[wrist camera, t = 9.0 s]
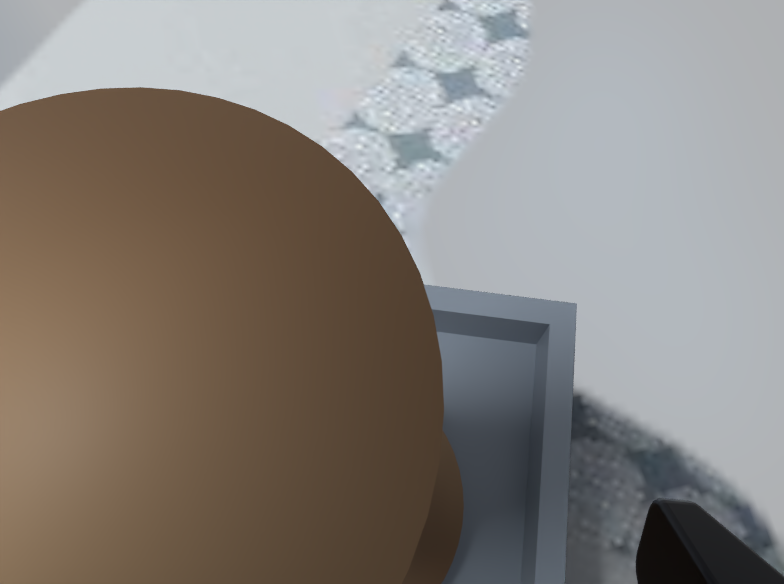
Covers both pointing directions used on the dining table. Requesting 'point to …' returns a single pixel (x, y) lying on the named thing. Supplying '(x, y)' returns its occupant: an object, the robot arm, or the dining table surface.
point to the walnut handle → (209, 356)
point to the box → (508, 430)
